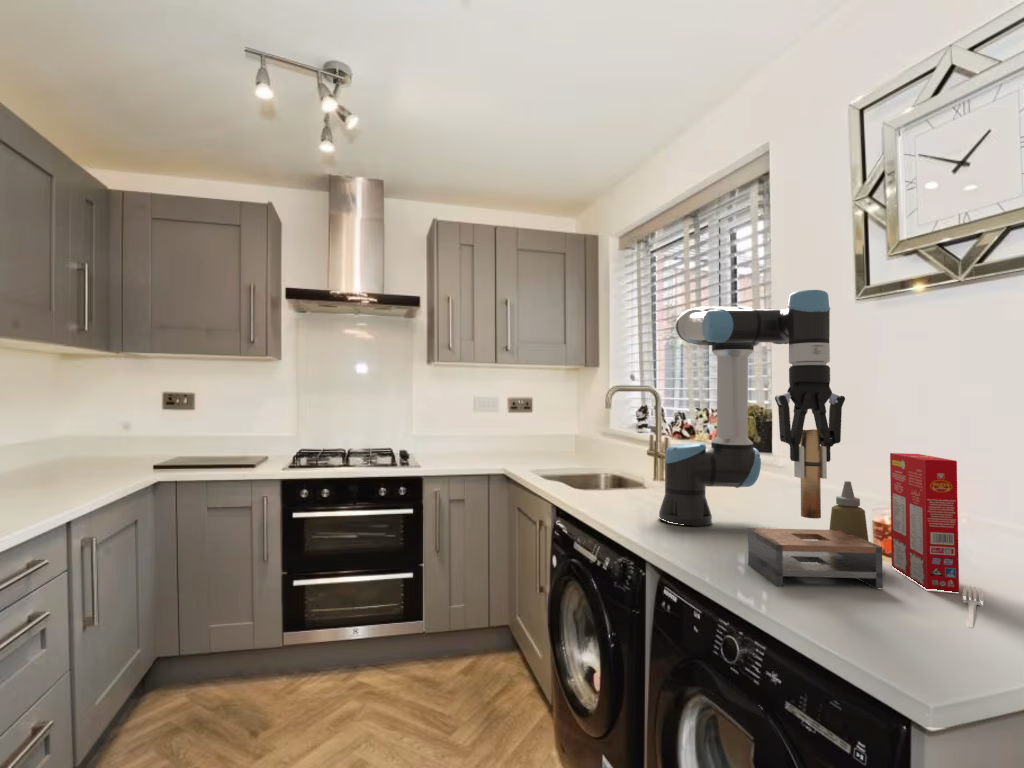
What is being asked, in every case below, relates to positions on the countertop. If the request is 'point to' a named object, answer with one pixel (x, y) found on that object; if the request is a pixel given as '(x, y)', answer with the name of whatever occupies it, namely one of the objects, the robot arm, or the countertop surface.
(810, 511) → the wooden peg
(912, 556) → the food packaging
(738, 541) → the countertop surface
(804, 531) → the frame
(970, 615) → the fork
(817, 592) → the countertop surface
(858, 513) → the squeeze bottle
